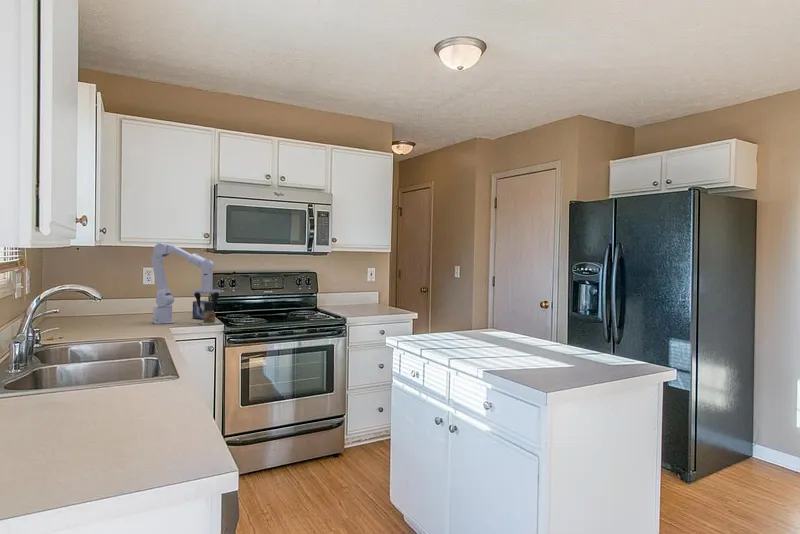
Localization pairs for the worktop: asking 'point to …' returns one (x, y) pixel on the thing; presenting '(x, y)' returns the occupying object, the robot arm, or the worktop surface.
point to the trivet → (208, 323)
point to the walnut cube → (209, 317)
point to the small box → (201, 309)
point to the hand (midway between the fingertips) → (206, 306)
